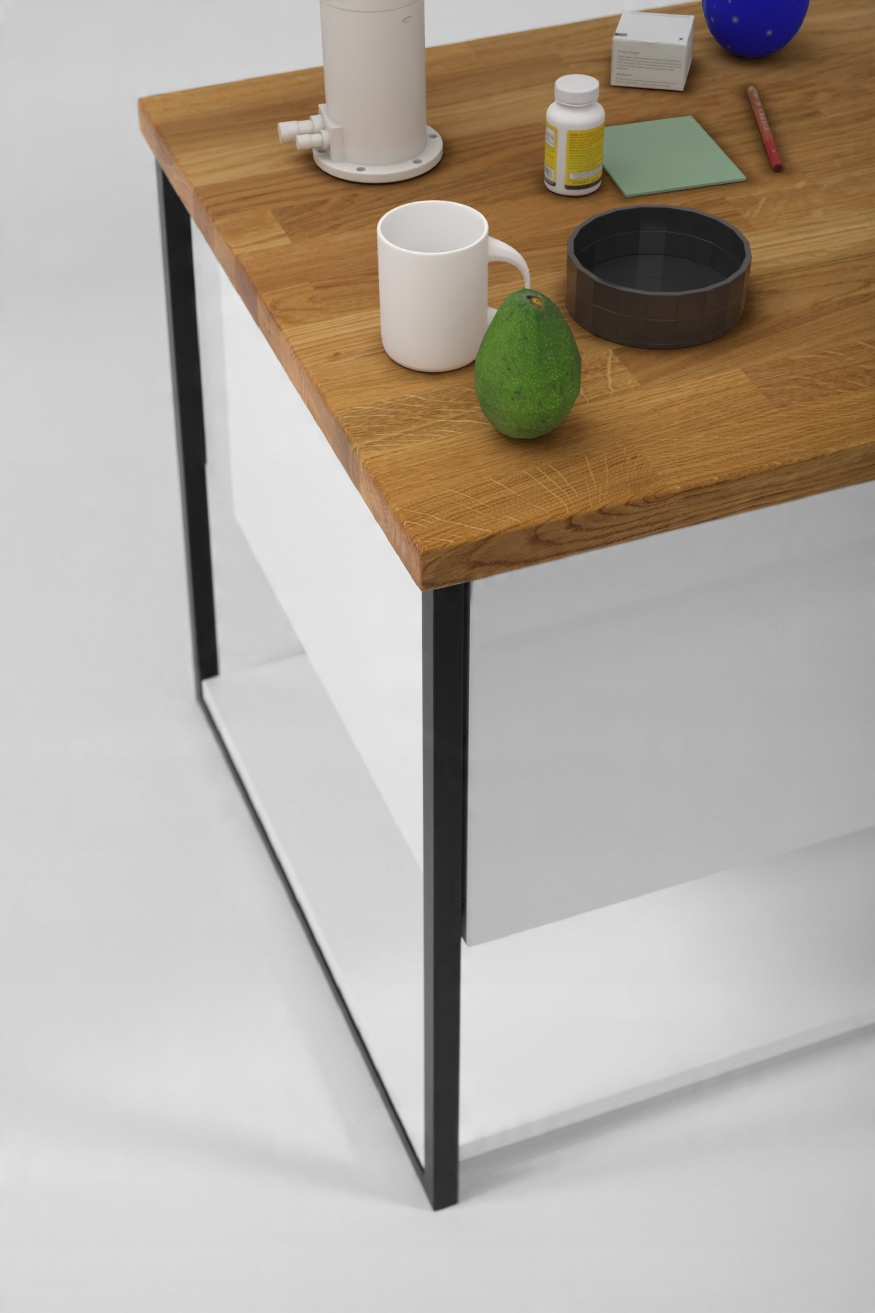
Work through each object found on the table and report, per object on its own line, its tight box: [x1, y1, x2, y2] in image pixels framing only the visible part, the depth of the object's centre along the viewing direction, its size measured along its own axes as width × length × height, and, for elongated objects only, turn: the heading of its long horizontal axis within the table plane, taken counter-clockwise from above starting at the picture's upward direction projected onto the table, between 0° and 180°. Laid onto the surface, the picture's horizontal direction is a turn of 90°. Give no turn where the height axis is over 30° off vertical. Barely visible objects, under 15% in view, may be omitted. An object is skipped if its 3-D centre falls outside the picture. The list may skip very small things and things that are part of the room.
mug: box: [376, 199, 531, 373], centre depth 129 cm, size 9×12×11 cm
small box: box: [610, 10, 695, 92], centre depth 169 cm, size 8×8×5 cm
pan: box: [564, 203, 753, 350], centre depth 136 cm, size 15×15×5 cm
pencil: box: [746, 83, 784, 173], centre depth 161 cm, size 19×1×1 cm, turn 0°
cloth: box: [602, 115, 747, 198], centre depth 157 cm, size 12×14×1 cm
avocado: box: [473, 287, 583, 440], centre depth 120 cm, size 8×8×12 cm
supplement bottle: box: [543, 73, 606, 197], centre depth 150 cm, size 5×5×10 cm
